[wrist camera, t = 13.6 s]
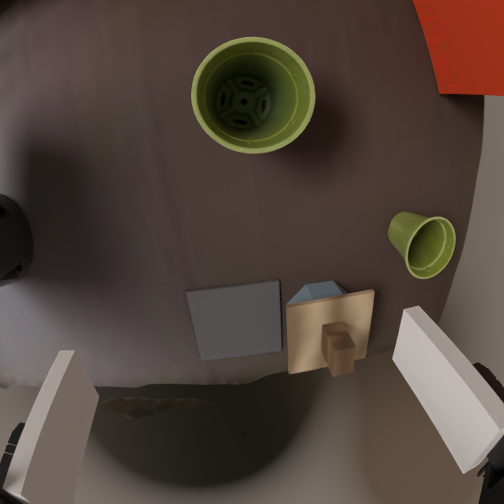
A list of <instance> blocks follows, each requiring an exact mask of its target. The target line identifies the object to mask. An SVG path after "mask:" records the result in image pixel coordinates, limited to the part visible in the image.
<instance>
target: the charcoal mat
mask: <svg viewBox="0 0 504 504" xmlns="http://www.w3.org/2000/svg"><path fill="white" fill-rule="evenodd" d="M186 295H187V300H188V305H189V309H190V314H191V319H192V323H193V328H194V332H195V336H196V341H197V345H198V349H199V353H200V357H201V361H205V360H215V359H224V358H233V357H241V356H249V355H257V354H264V353H271V352H277V351H282V346H281V317H280V292H279V280H272V281H264V282H256V283H248V284H240V285H232V286H224V287H215V288H206V289H198V290H189V291H186Z"/></svg>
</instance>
